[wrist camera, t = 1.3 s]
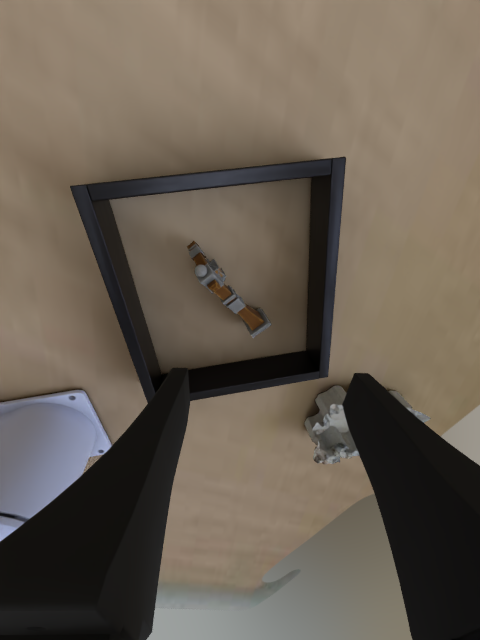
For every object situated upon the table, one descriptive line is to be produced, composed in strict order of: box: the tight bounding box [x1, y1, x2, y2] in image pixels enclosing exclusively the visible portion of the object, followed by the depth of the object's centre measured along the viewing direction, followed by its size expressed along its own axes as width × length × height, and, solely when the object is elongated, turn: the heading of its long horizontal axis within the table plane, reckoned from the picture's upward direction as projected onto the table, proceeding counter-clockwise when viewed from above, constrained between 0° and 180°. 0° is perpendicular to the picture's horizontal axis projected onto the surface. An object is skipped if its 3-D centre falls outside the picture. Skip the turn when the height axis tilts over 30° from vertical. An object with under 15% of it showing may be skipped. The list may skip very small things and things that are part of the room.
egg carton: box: [304, 385, 431, 464], centre depth 27 cm, size 11×8×4 cm
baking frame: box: [70, 157, 346, 403], centre depth 19 cm, size 15×16×3 cm
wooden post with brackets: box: [187, 241, 272, 338], centre depth 19 cm, size 2×8×4 cm, turn 37°
